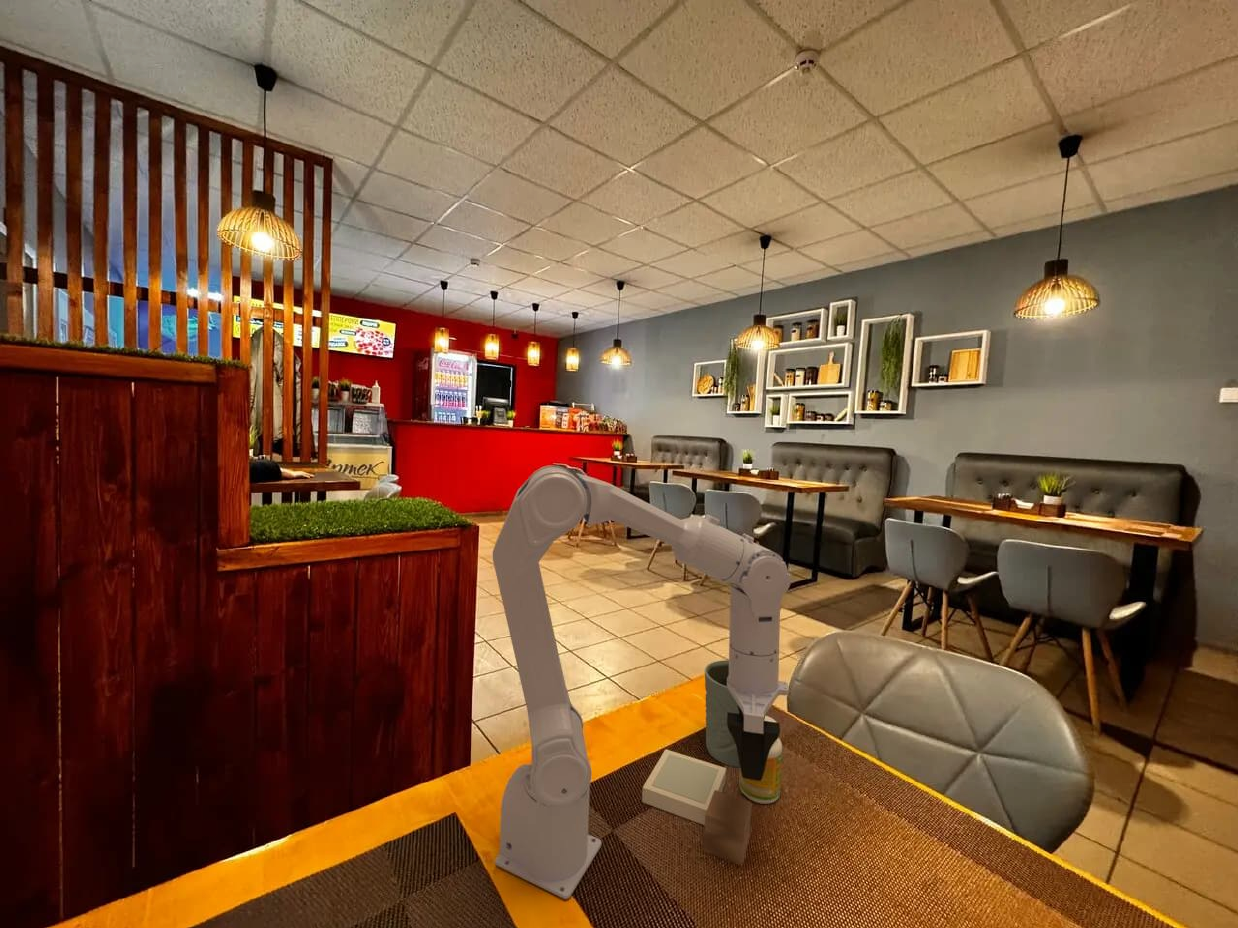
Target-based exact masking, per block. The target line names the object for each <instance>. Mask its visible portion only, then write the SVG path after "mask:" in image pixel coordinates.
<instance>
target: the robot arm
mask: <svg viewBox="0 0 1238 928" xmlns="http://www.w3.org/2000/svg"><path fill="white" fill-rule="evenodd" d="M576 475H577V477H578V478H579V479H578V478H577V477H576V476H574V474H573V473H572V472H571V471H569V470H568V469H567V468H564V467H562V466H560V465H545V466H542V467H540V468H539V469H537V470H535V471H534V472H533V473H532V474H531V475H530V476H529V477H528V479H526V480H525V482H524V483H522V485H521V486H520V487H519V488H518V490H517V491H516V494H515V495H514V499H513V501H512V503H511V505H510V508H509V510H508V513H507V516H506V517H505V519H504V522H503V525H502V527H501V529H500V532H499V534H498V536H497V539H496V541H495V544H494V547H493V550H492V562H493V567H494V571H495V576H496V580H497V583H498V589H499V593H500V597H501V602H502V606H503V610H504V615H505V617H506V623H507V627H508V632H509V636H510V637H509V638H510V640H511V641H510V642H511V646H512V649H513V654H514V658H515V662H516V668H517V671H518V676H519V679H520V684H521V689H522V692H523V693H522V694H523V698H524V702H525V706H526V710H527V715H528V716H527V718H528V726H529V734H530V742H531V743H530V744H531V764H528V763H524V764H521V765H519V766H518V767H517V768H516V769H515V771H514V772H513V773H512V775H511V776H510V778H509V779H508V781H507V784H506V786H505V788H504V792H503V795H502V799H501V805H500V830H499V831H500V835H499V838H500V839H499V854H498V855H497V856H496V858H495V859H494V861H495V862H494V863H495V866H497V867H499V868H501V869H503V870H505V871H507V872H510V873H511V874H513V875H515V876H517V877H519V878H522V879H523V880H526V881H527V882H530V883H532V884H534V885H536V886H537V887H539V888H542V889H544V890H546V891H548V892H549V893H551V894H554V895H556V896H558V897H559V898H562V899H564V900H567V899H569V898H570V897H571V896H572V895H573V893H574V891H575V889H576V888H577V886H578V885H579V883H580V882H581V880H582V878H583V877H584V875H585V874H586V872H587V870H588V868H589V867H590V865H591V864H592V862H593V860H594V858H595V857H596V856H597V854H598V852H599V851H600V849H601V847H602V840H601V839H600V838H597V837H595V836H593V835H590V834H589V815H590V813H589V812H590V791H591V790H590V788H591V780H592V766H591V763H590V759H589V757H588V752H587V746H586V740H585V736H584V722H583V721H584V720H583V717H582V715H581V713H580V712H579V711H578V709H576V708H575V706H573V704H572V702H571V699H570V695H569V691H568V689H567V686H566V685H567V684H566V680H565V677H564V672H563V667H562V663H561V657H560V654H559V650H558V645H557V640H556V636H555V632H554V631H555V630H554V627H553V623H552V617H551V614H550V609H549V604H548V599H547V596H546V595H547V594H546V589H545V585H544V582H543V581H544V580H543V576H542V572H541V568H540V563H539V562H540V561H541V560H542V558H543V557H544V556H545V555H546V554H547V552H548V550H549V549H550V548H551V546H552V545H553V544H554V542H556V541H557V540H558V539H559V538H562V536H564V535H566V534H567V533H569V532H570V531H571V530H573V529H574V528H575V527H577V526H578V525H579V524H580V522H581V521H582V520H583V519H584V521H585V523H587V525H588V526H593V525H596V524H601V523H605V522H608V521H613V522H616V523H617V524H621V525H622V526H625V527H626V528H627V527H628V528H630V529H632V530H635V531H637V532H639V533H641V534H644V535H646V536H649V537H651V538H653V539H656V540H658V541H660V542H662V543H665V544H668V545H670V548H671V549H672V552H673V556H674V558H675V560H676V561H677V562H678V563H681V564H682V565H685V566H688V567H689V568H691V569H693V570H696V571H698V572H700V573H703V574H705V575H706V576H709V577H711V578H714V579H716V580H717V581H719V582H722V583H725V584H730V589H729V591H730V593H729V596H730V597H729V598H730V599H729V600H730V601H729V636H728V637H729V640H728V641H729V642H728V645H729V646H728V660H729V676H728V677H727V687H728V689H729V691H730V693H731V694H732V696H733V697H734V699H735V701H736V702H737V704H738V709H739V714H737V713H730V712H728V713H727V726H728V729H729V732H730V733H731V735H732V737H733V739H734V741H735V744H736V748H737V752H738V758H739V764H740V767H739V770H740V769H741V773H742V777H743V778H745V779H751V780H757V781H761V780H762V777H763V774H764V771H765V766H766V762H767V758H768V754H769V752H770V749H771V747H772V745H773V744H774V742H775V741H776V740H777V739H778V738H779V736H780V733H781V727H780V726H781V725H780V722H777V721H776V722H777V723H776V722H769V721H764V719H765V714H766V713H767V711H768V712H769V709H770V708H771V707H772V705H773V704H774V703H775V701H776V700H777V698H779V696H788V695H789V694H790V693H789V692H790V688H789V687H790V686H789V683H788V682H787V681H783V680H782V681H781V680H779V671H780V670H779V667H780V666H779V665H780V663H779V662H780V659H779V658H780V630H781V629H780V627H781V625H780V623H781V622H780V621H781V610H782V600H783V597H784V596H785V594H786V593H787V591H788V590H789V588H790V587H791V583H792V580H793V579H792V578H793V576H792V574H790V573H789V571H788V565H787V564H786V562H785V561H784V559H783V557H782V556H781V555H780V554H778V553H777V552H774V551H772V550H771V549H768V548H766V547H765V546H762V545H760V544H758V543H757V542H756V543H755V542H754V540H755V538H754V537H752V536H750V535H748V534H746V533H743V534H742V535H739V534H738V533H736V532H733V531H731V530H729V529H727V528H725V527H723V526H722V525H719V524H720V522H721V521H720V519H718V518H716V517H714V516H712V515H710V514H706V515H705V517H703V516H700V515H697V514H696V515H692V516H690V517H687V518H683V519H680V518H678V517H675V516H674V515H671V514H670V513H669V512H666V511H664V510H662V509H660V508H658V507H657V506H654V505H653V504H650V503H648V502H646V501H645V500H643V499H641V498H639V497H637V496H634V495H633V494H631V493H630V492H627V491H625V490H623V489H621V488H619V487H618V486H615V485H613V484H612V483H609V482H607V481H603V480H600V479H598V478H595V477H591V476H588V475H586V474H585V475H584V474H581V473H577V472H576ZM767 714H768V713H767Z"/></svg>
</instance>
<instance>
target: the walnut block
mask: <svg viewBox="0 0 1238 928" xmlns="http://www.w3.org/2000/svg"><path fill="white" fill-rule="evenodd" d="M752 802H753V801H752ZM752 802H751V801H749V800H746V799H743V798H740V797H738V796H735V795H731V794H728V793H725V792H723V791H722V792H719V791H716V790H714V793H713V796H712V798H711V801H710V803H709V806H708V809H707V811H706V814H705V825H704V832H703V833H704V834H703V835H704V836H703V852H706V853H707V854H711V855H712V856H713V855H714V856H715V857H718V858H720V859H723V860H726V861H728V862H731V863H733V864H736V865H738V866H741V867H743V866H744V862H745V857H746V855H747V854H746V853H747V849H748V847H749V841H750V838H751V837H750V836H751V835H750V834H751V819H752V818H751V817H752Z"/></svg>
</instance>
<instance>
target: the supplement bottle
mask: <svg viewBox="0 0 1238 928" xmlns="http://www.w3.org/2000/svg"><path fill="white" fill-rule="evenodd" d="M764 721H769V722H776V723H778V722H777V721H776V720H775V719H774V718H772V717H770V716H768V715H767V716H765V719H764ZM782 761H783V744H782V741H781V739H780V738H779V737H778V739H777V740H776V741H775V742H774V744H773V745H772V747H771V749H770V752H769V754H768V758H767V762H766V766H765V771H764V774H763V777H762V780H761V781H757V780H751V779H745V778H743V777H742V773H741V769H740V768H739V778H738V779H739V783H738V785H739V789H740V791H741V793H742V794H743V795H744V796H745V797H746V798H747V799H749V800H750V801H752V802H755V803H757V804H758V803H759V804H772V803H775V802H776V801H778V799H779V798H780V793H781V781H782V779H781V776H782Z"/></svg>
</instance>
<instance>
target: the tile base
mask: <svg viewBox="0 0 1238 928" xmlns="http://www.w3.org/2000/svg"><path fill="white" fill-rule="evenodd" d="M726 781H727V768H726V767H723V766H720V765H717V764H713V763H711V762H707V761H705V760H701V759H698V758H695V757H692V756H689V755H685V754H682V753H679V752H675V751H672V750H669V749H664V751H663V753H662V754H661V756H660V757H659V760H658V761H657V763H656V765H655V766H654V768H653V769H652V771H651V773H650V775H649V776H648V778H647V779H646V781H645V783H644V785H643V786H642V793H641V797H642V798H641V803H644V804H645V805H647V806H652V807H655V808H657V809H659V810H662V811H666V812H668V813H671V814H674V815H676V816H679V817H681V818H684V819H687V820H690V821H692V822H696V823H697V824H700V825H703V826H705V814H706V811H707V809H708V806H709V803H710V801H711V798H712V796H713V793H714V790H716V791H719V792H722V793H723V791H724V787H725V785H726Z"/></svg>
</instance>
